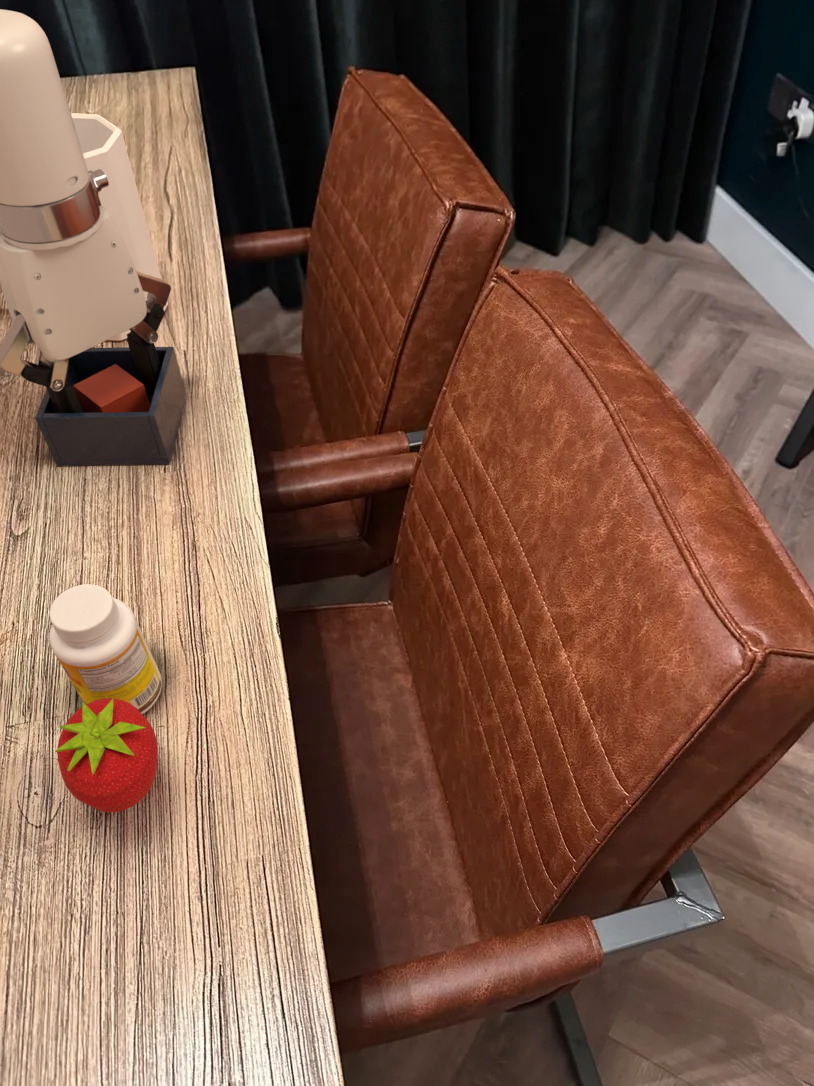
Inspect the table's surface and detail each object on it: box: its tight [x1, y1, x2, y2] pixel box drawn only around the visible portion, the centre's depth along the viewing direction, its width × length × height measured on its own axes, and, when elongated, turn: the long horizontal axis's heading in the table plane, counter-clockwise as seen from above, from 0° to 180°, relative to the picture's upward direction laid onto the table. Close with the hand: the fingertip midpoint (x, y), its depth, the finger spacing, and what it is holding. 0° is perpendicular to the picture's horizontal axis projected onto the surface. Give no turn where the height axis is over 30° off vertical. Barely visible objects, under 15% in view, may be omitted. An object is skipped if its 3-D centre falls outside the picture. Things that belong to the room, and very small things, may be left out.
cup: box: [70, 112, 169, 342], centre depth 88 cm, size 11×11×18 cm
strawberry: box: [54, 698, 159, 813], centre depth 55 cm, size 6×8×10 cm
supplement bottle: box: [48, 583, 163, 715], centre depth 60 cm, size 6×6×10 cm
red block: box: [73, 364, 150, 413], centre depth 80 cm, size 4×4×4 cm
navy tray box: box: [34, 346, 187, 467], centre depth 80 cm, size 10×10×6 cm
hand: (112, 395), depth 79 cm, fingers open, 7 cm apart
